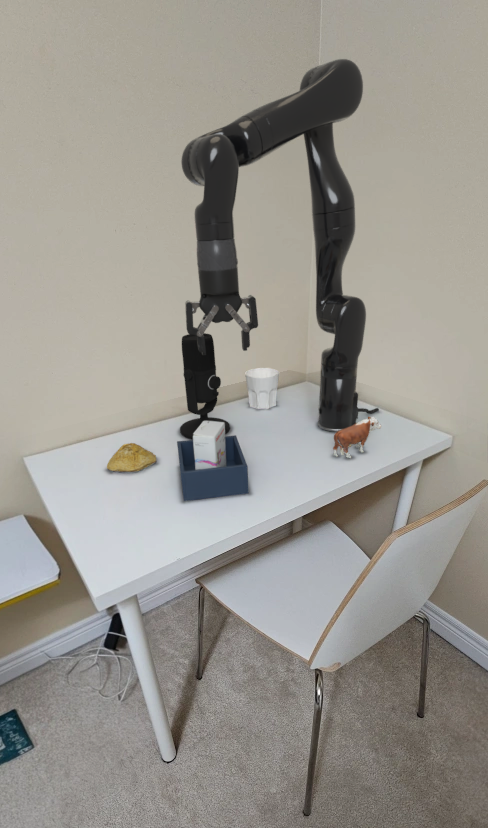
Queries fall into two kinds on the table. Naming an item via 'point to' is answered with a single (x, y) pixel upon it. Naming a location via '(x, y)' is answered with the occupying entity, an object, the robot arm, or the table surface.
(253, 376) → the cup
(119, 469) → the fossil
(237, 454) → the box
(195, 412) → the microphone
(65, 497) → the table surface
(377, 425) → the bull figurine
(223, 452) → the ink box
